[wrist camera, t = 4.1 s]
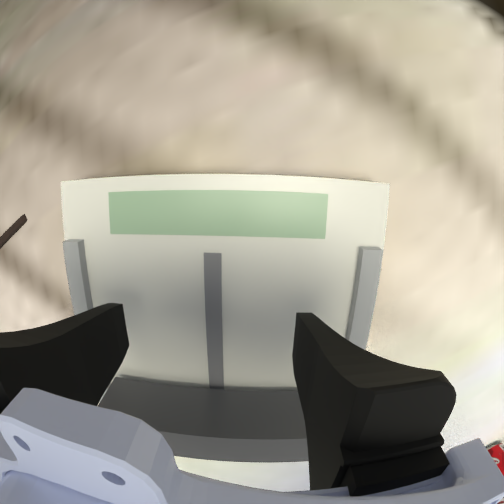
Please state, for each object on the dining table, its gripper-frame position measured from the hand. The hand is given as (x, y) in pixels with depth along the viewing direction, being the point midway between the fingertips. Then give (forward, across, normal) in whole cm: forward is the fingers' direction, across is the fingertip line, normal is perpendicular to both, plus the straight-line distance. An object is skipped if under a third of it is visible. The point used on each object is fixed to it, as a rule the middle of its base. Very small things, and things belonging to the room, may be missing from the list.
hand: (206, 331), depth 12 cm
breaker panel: (+5, 0, +2) cm, 6 cm away
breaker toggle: (+2, 0, +6) cm, 6 cm away
